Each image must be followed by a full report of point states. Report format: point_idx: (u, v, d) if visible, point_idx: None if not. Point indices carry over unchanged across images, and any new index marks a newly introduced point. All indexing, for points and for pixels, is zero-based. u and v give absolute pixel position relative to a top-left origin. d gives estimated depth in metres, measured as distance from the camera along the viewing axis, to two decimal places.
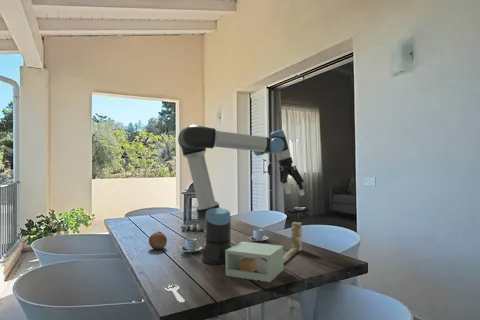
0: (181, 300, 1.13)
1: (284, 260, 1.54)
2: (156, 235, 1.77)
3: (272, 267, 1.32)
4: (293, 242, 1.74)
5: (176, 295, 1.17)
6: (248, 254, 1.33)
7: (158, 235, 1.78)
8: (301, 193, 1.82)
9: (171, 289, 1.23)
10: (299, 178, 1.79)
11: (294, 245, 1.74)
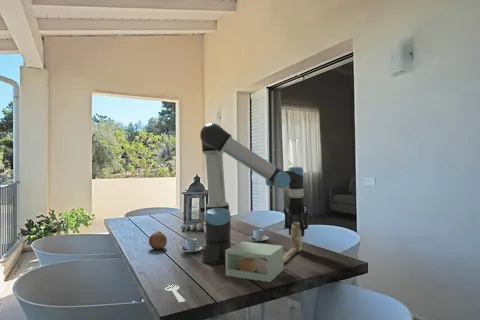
0: (181, 300, 1.13)
1: (284, 260, 1.54)
2: (156, 235, 1.77)
3: (272, 267, 1.32)
4: (293, 242, 1.74)
5: (176, 295, 1.17)
6: (248, 254, 1.33)
7: (158, 235, 1.78)
8: (301, 240, 1.74)
9: (171, 289, 1.23)
10: (307, 224, 1.73)
11: (294, 245, 1.74)
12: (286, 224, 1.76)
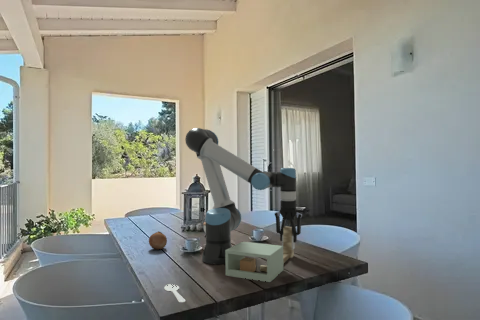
0: (182, 300, 1.13)
1: None
2: (156, 235, 1.77)
3: (272, 267, 1.32)
4: (285, 248, 1.62)
5: (176, 295, 1.17)
6: (248, 254, 1.33)
7: (158, 235, 1.78)
8: (293, 246, 1.62)
9: (171, 289, 1.23)
10: (299, 229, 1.61)
11: (286, 251, 1.62)
12: (277, 229, 1.65)
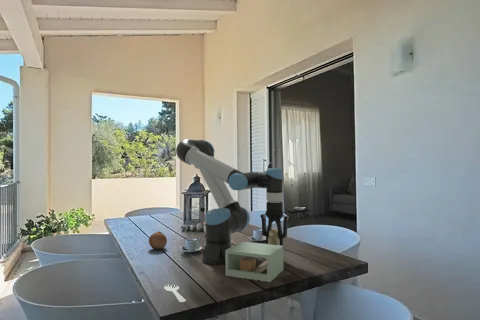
0: (182, 300, 1.13)
1: None
2: (156, 235, 1.77)
3: (272, 267, 1.32)
4: None
5: (176, 295, 1.17)
6: (248, 254, 1.33)
7: (158, 235, 1.78)
8: None
9: (171, 289, 1.23)
10: (286, 232, 1.56)
11: None
12: (263, 231, 1.59)
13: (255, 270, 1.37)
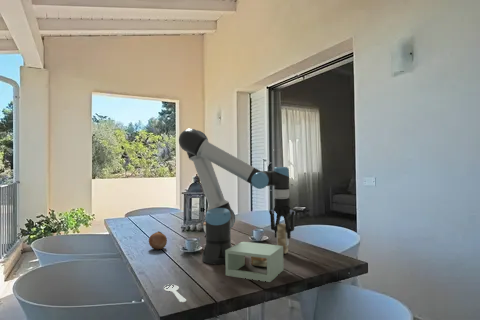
0: (182, 300, 1.14)
1: None
2: (156, 235, 1.77)
3: (272, 267, 1.32)
4: (279, 244, 1.69)
5: (176, 295, 1.18)
6: (248, 254, 1.33)
7: (158, 235, 1.78)
8: (287, 242, 1.68)
9: (171, 289, 1.23)
10: (293, 226, 1.67)
11: None
12: (272, 226, 1.71)
13: (265, 260, 1.49)
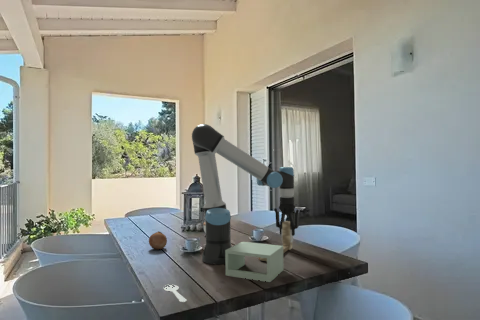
0: (183, 300, 1.14)
1: None
2: (156, 235, 1.77)
3: (272, 267, 1.32)
4: (284, 241, 1.76)
5: (176, 295, 1.18)
6: (248, 254, 1.33)
7: (158, 235, 1.78)
8: (292, 239, 1.76)
9: (171, 289, 1.23)
10: (297, 223, 1.75)
11: (285, 244, 1.76)
12: (277, 223, 1.79)
13: None
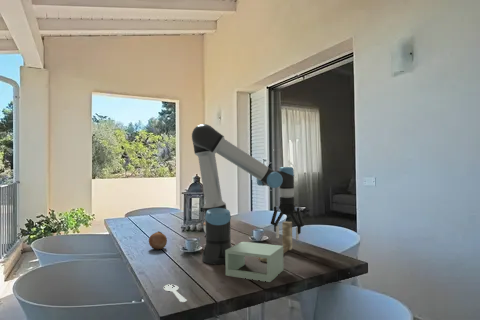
0: (183, 300, 1.14)
1: None
2: (156, 235, 1.77)
3: (272, 267, 1.32)
4: (284, 241, 1.76)
5: (177, 295, 1.18)
6: (248, 254, 1.33)
7: (158, 235, 1.78)
8: (297, 237, 1.75)
9: (171, 289, 1.23)
10: (302, 221, 1.74)
11: (285, 244, 1.76)
12: (272, 221, 1.80)
13: None
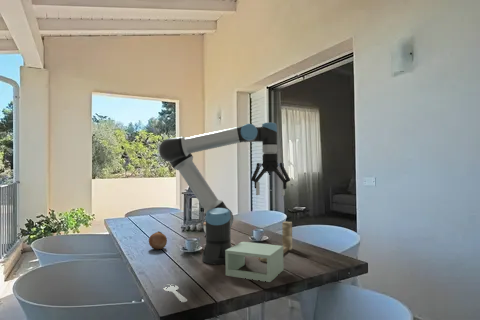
0: (183, 299, 1.14)
1: None
2: (156, 235, 1.77)
3: (272, 267, 1.32)
4: (284, 241, 1.76)
5: (177, 295, 1.18)
6: (248, 254, 1.33)
7: (158, 235, 1.78)
8: (283, 193, 1.68)
9: (170, 289, 1.23)
10: (287, 176, 1.68)
11: (285, 244, 1.76)
12: (253, 177, 1.75)
13: None
